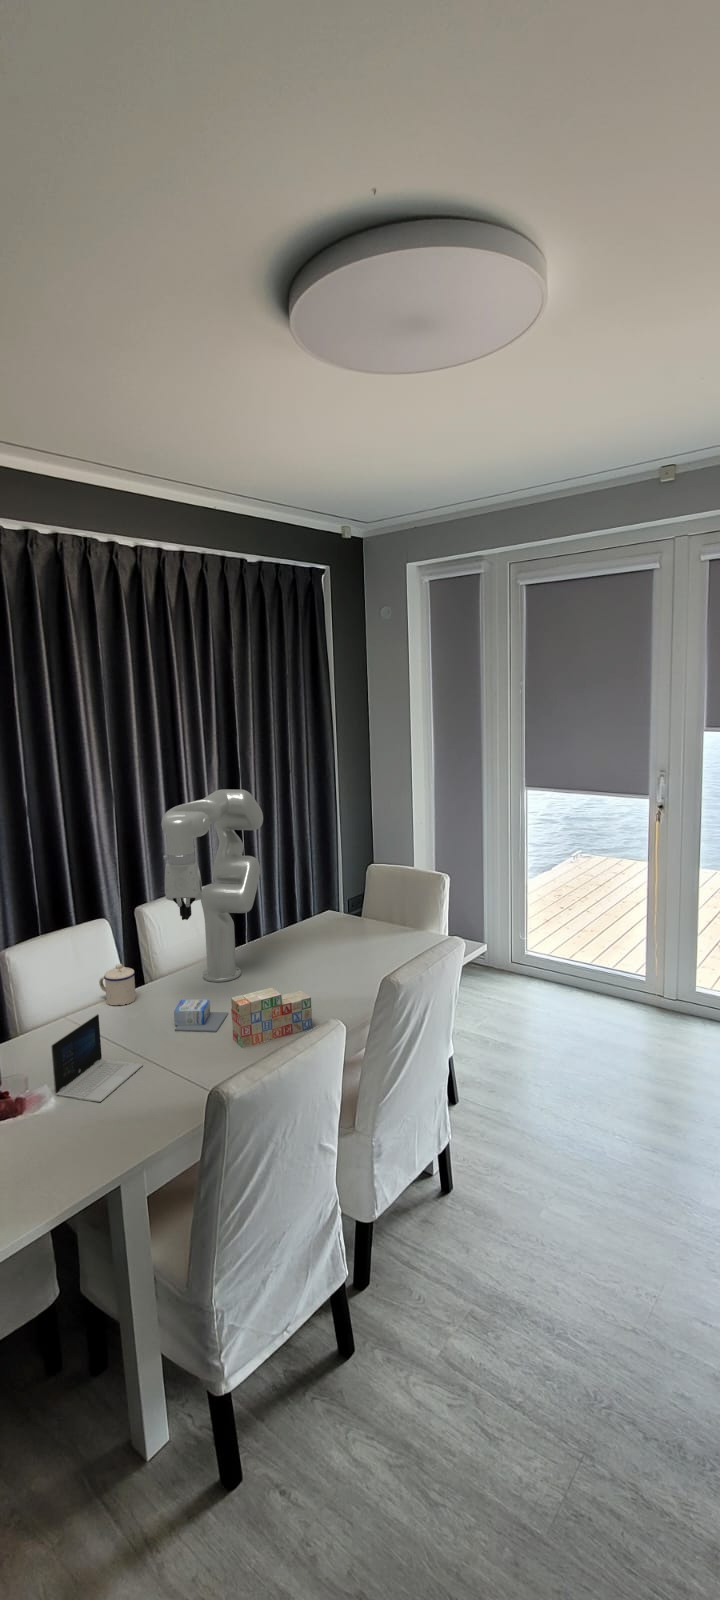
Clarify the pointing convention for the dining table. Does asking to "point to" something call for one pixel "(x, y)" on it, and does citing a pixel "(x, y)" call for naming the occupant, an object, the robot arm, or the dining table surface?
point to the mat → (206, 1023)
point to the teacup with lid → (119, 985)
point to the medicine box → (192, 1012)
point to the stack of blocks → (269, 1015)
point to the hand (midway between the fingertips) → (186, 918)
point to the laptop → (86, 1065)
